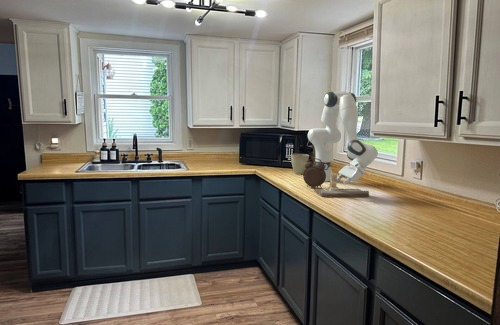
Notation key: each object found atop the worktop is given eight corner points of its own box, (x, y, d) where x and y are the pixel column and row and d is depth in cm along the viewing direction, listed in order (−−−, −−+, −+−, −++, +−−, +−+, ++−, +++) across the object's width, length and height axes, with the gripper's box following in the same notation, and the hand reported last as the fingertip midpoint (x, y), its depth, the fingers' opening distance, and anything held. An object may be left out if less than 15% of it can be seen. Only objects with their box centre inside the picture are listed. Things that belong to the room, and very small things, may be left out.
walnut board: (314, 191, 223) (314, 186, 223) (358, 191, 228) (358, 186, 227) (321, 196, 209) (322, 191, 209) (368, 197, 214) (369, 191, 214)
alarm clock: (326, 188, 234) (328, 159, 231) (321, 190, 228) (323, 159, 225) (306, 185, 243) (308, 156, 240) (301, 186, 237) (303, 157, 234)
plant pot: (286, 172, 295) (287, 153, 293) (303, 172, 299) (304, 153, 297) (294, 175, 281) (295, 155, 279) (311, 175, 285) (312, 155, 283)
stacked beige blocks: (326, 190, 218) (328, 173, 217) (334, 190, 219) (335, 173, 218) (330, 192, 213) (331, 174, 211) (338, 192, 213) (339, 175, 212)
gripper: (346, 160, 225) (330, 175, 225) (360, 165, 205) (343, 181, 205) (352, 167, 227) (336, 182, 227) (367, 173, 207) (350, 189, 206)
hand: (340, 182), depth 216 cm, fingers open, 8 cm apart
